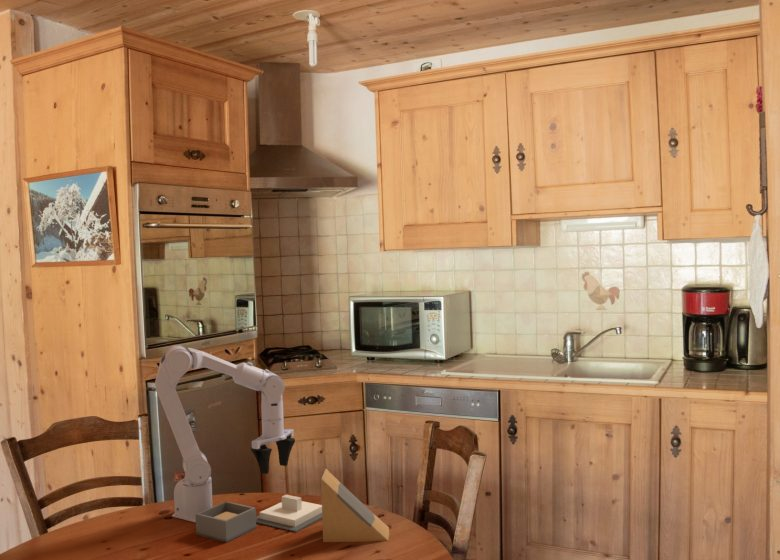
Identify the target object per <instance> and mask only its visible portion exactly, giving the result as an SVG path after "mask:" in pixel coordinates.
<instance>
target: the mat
mask: <svg viewBox="0 0 780 560" xmlns="http://www.w3.org/2000/svg"><path fill="white" fill-rule="evenodd" d="M320 520H322V513H320V514H318V515H316V516H315V517H313V518H311V519H309V520H307V521H305V522H303V523H301V524H299V525H297V526H296V527H293V526H289V525H285V524H281V523H277V522H272V521H268V520H264V519H260V514H259V515H256V524H259V525H264V526H267V525H268V527H271V526H272V528H276V529H279V530H280V529H281V530H284V529H285V530H286V531H288V530H289V532H292V531H293V533H298V532H300V531H302V530H304V529H305V528H308V527H309V526H311V525H313V524H315V523H316V522H318V521H320Z"/></svg>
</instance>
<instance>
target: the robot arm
mask: <svg viewBox="0 0 780 560" xmlns="http://www.w3.org/2000/svg"><path fill="white" fill-rule="evenodd" d="M188 350H189V351H188ZM191 368H192V370H197V369H202V368H205V369H208V370H212V371H215V372H218V373H221V374H223V375H226V376H230V377H231V378H232V380H233V383H234V384H237V385H240V386H242V387H245V388H247V389H251V390H254V391H256V392H259V391H260V392H261V402H260V403H261V404H260V405H261V406H260V407H261V435H260V436H258V437H257V438H255V439H253V440H252V441H251V448H250V450H251V451H250V452H252V454H253V455H254V457H255V458H256V461H257V464H258V468H259V470H260V474H264V475H267V474H269V471H270V460H271V459H270V458H271V452H272V451H273V448H269V447H268V445H271V444H273V443H275V445H276V448H277V452H278V453H277V455H278V463H279V465H280V466H282V467H283V466H284V467H287V466H288V463H289V459H290V454H291V451H292V448H293V447H294V445H295V443H296V438H293V437H294V436H295V434H294V428H293V429H292V428H285V427H284V422H285V421H284V401H283V394H284V392H285V389H286V385H285V382H284V380H283V379H282V377H281V376H279V375H277V374H276V373H274V372H272V371H270V370H269V369H267V368H265V369H262V368H259V367H256V366H255V365H254V363H252V362H250V361H247V362H240V363H238V364H235V363H232V362H230V361H227V360H225V359H222V358H221V357H218V356H215V355H213V354H211V353H208V352H206V351H203V350H199V349H196V348H194V347H193V348H192V347H187V348H186V347H185V346H184V345H180V344H174V345H171V346H169V347H168V348H167V349H166V350H165V352H164V353H163V355H162V356H161V357H160V360H159V366H158V370H157V373H156V377H155V380H154V381H155V382H154V388H155V391H156V394H157V396H158V398H159V401H160V404H161V405H162V408H163V412H164V413H165V416H166V419H167V421H168V423H169V426H170V428H171V431H172V434H173V436H174V440H175V441H176V444H177V446H178V448H179V449H178V450H179V451H180V454H181V458H182V469H183V471H184V473H185V476H184V477H183V478H182V479H180V480H178V482H177V483H176V485H175V486H174V490H173V499H174V500H173V504H174V507H173V508H174V513H173V514H172V515H171V517H172V518H176V519H180V520H185V521H189V522H192V523H195V524H196V514H197V513H199V512H202V511H204V510H206V509H209V508H211V507H213V485H212V482H213V481H212V476H211V474H212V467H211V465H210V463H209V462H208V459H207V457H206V456H207V455H205V454H204V453H203V452H202V451H201V450H200V447H199V444H198V443H197V440H196V438H195V435H194V433H193V430H192V427H191V424H190V422H189V420H188V418H187V417H188V416H187V415H186V412H185V409H184V408H183V405H182V401H181V400H180V396H179V394H178V392H177V389H176V387H177V386H178V383H179V381H180V379H181V378H182V377H183V376H184V375H185V374H186V373H187V372H188V371H189V370H190V369H191Z"/></svg>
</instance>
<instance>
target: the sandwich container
mask: <svg viewBox="0 0 780 560" xmlns="http://www.w3.org/2000/svg"><path fill="white" fill-rule="evenodd" d="M320 485H321V486H320V487H321V489H320V490H321V505H322V519H321V520H322V542H323V543H348V542H349V543H350V542H351V543H352V542H353V543H355V542H383V541H385V542H387V541H389V538H390V527H389V526H388V525H387V524H386V523H384V522H383V521H382V520H381V519H380V517H378V516H377V515H376V514H374V513H373V511H372V510H370V509H369V508H368V507H367V505H365V504H364V503H363V502H362V501H361V500H360V499H359V498H358V497H356V495H354V494H353V492H351V491H350V490H349V489H348V488H347V487H346V486H345V485H344V484H343V483H341V482H340V481H339V480H338V479H337V478H336V477H335V476H334V475H333V474H332V473H331V472H330V471H329V470H328V469H327V468H324V472H323V474H322V476H321V480H320Z"/></svg>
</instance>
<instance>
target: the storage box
mask: <svg viewBox="0 0 780 560" xmlns="http://www.w3.org/2000/svg"><path fill="white" fill-rule="evenodd" d="M256 509H257V507H254V506H249V505H245V504H240V503H236V502H232V501H228V500H227V501H226V500H225V501H223V502H221V503H219V504H216V505H212V507H211V508H209V509H206V510H204V511H202V512H199V513H197V514H196V523H195V535H197V536H200V537H204V538H206V539H211V540H215V541H219V542H222V543H229V542H231V541H233V540H234V539H237V538H239V537H242V535H245V534H247V533H249V532H251V531H253V530H255V529H257V523H256V516H257V512H256Z"/></svg>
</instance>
